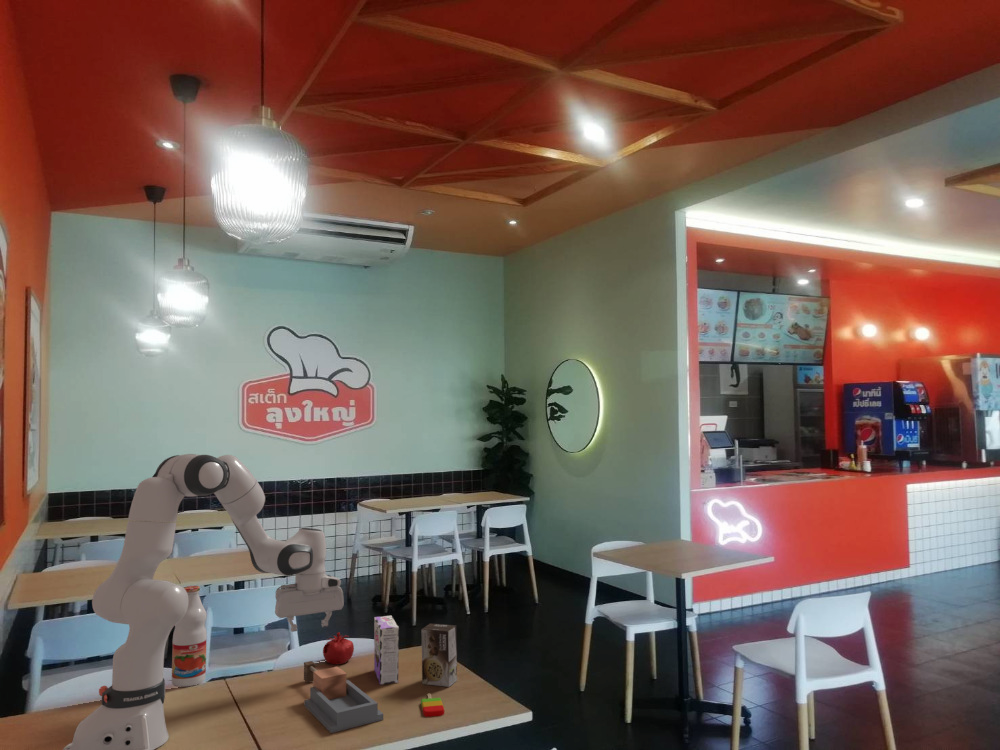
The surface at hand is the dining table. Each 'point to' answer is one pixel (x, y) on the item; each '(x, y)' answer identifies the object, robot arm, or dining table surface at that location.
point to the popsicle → (432, 706)
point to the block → (326, 680)
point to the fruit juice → (190, 643)
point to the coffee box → (439, 655)
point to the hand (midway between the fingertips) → (309, 628)
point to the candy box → (386, 649)
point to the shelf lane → (343, 709)
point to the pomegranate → (338, 650)
